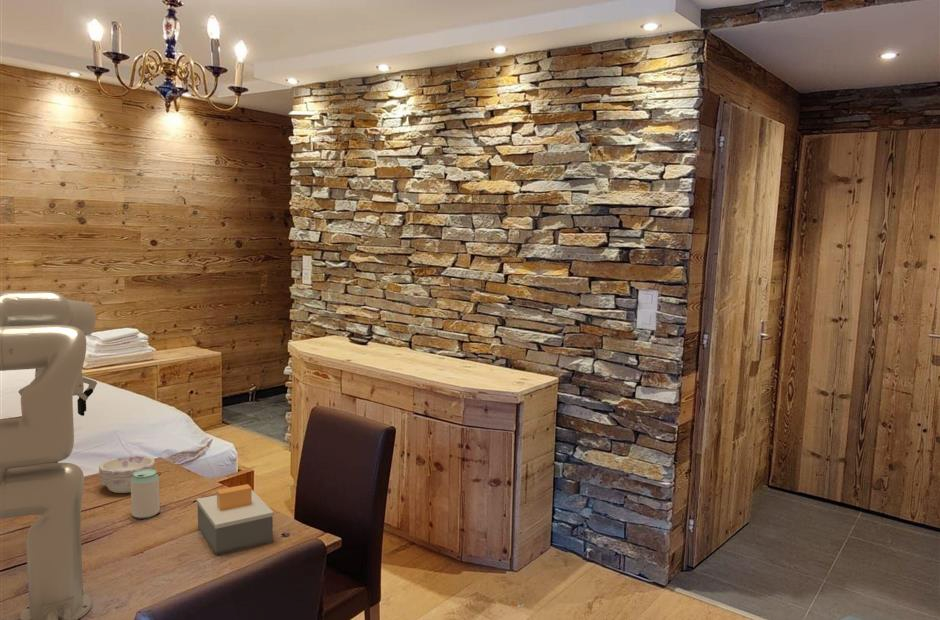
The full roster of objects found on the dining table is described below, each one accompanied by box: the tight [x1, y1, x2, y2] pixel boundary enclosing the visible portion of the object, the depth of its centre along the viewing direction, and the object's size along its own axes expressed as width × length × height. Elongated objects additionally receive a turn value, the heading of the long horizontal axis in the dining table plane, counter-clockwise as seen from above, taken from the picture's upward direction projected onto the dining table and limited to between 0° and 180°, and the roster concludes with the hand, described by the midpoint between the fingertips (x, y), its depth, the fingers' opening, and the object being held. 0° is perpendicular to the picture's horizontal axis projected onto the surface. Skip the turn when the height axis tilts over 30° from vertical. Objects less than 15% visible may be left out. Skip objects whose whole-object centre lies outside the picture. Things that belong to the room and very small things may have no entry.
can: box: [130, 469, 161, 520], centre depth 187 cm, size 7×7×12 cm
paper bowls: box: [98, 455, 156, 494], centre depth 205 cm, size 15×15×8 cm
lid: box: [196, 483, 275, 529], centre depth 176 cm, size 18×14×6 cm
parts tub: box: [197, 504, 274, 556], centre depth 177 cm, size 18×14×7 cm
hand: (60, 417), depth 173 cm, fingers open, 9 cm apart
